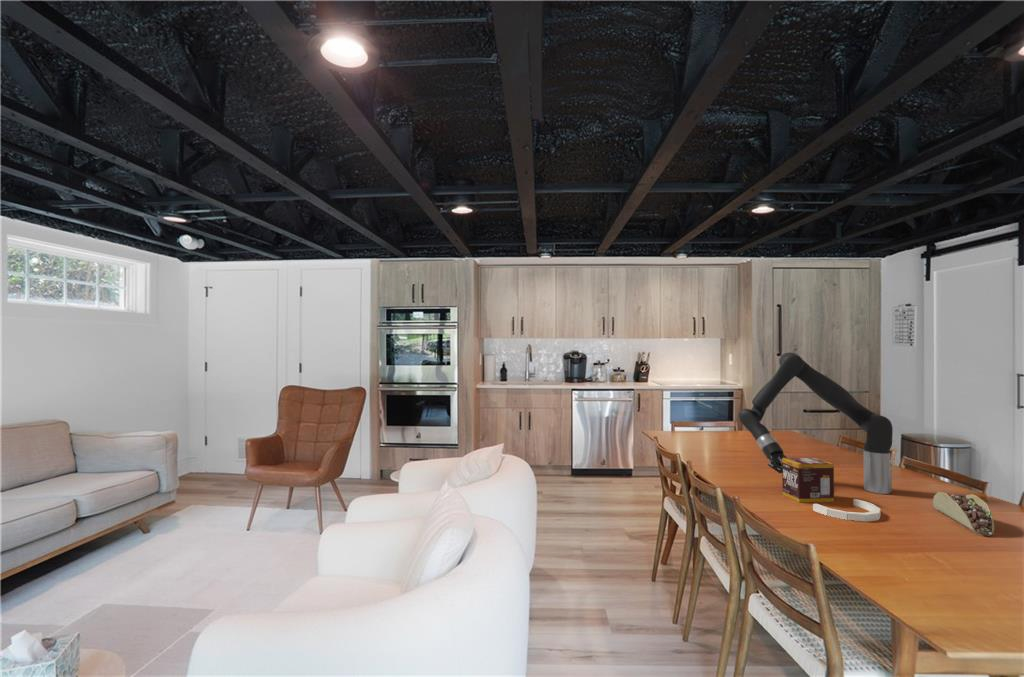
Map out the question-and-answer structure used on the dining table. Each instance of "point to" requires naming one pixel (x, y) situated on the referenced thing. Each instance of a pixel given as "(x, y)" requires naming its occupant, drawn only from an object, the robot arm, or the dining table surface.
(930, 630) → the dining table surface
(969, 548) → the dining table surface
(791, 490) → the supplement box
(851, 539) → the dining table surface
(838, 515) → the segmented curved arch
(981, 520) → the taco
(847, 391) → the robot arm
